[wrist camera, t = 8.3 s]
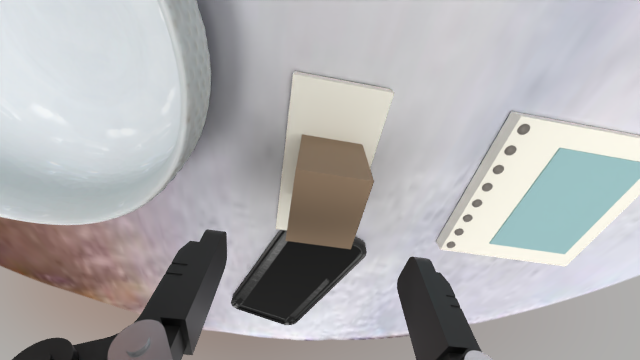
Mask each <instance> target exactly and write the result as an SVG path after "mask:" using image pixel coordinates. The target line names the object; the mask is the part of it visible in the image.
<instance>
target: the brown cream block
mask: <svg viewBox="0 0 640 360" xmlns="http://www.w3.org/2000/svg"><path fill="white" fill-rule="evenodd" d="M393 96H394V92H393V91H392V90H391V89H387V88H382V87H377V86H371V85H366V84H361V83H355V82H350V81H345V80H339V79H334V78H329V77H323V76H318V75H313V74H307V73H302V72H297V71H294V73H293V77H292V86H291V95H290V104H289V113H288V122H287V131H286V140H285V149H284V158H283V167H282V176H281V185H280V194H279V203H278V212H277V221H276V229H279V230H287V233H286V240H285V241H292V242H299V243H307V244H314V245H322V246H330V247H337V248H345V249H351V247H352V244H353V241H354V238H355V235H356V232H357V230H358V227H359V224H360V221H361V218H362V215H363V212H364V209H365V206H366V203H367V200H368V197H369V194H370V191H371V189H372V186H373V183H374V180H373V177H372V173H371V170H370V168H371V164H372V161H373V158H374V155H375V152H376V149H377V146H378V143H379V140H380V137H381V133H382V130H383V127H384V124H385V121H386V118H387V115H388V112H389V109H390V105H391V102H392V99H393Z"/></svg>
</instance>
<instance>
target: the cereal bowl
mask: <svg viewBox="0 0 640 360" xmlns="http://www.w3.org/2000/svg"><path fill="white" fill-rule="evenodd" d="M210 65H211V64H210V54H209V51H208V46H207V38H206V35H205V27H204V24H203V22H202V17H201V14H200V11H199V9H198V3H197V0H0V217H4V218H9V219H14V220H20V221H25V222H33V223H41V224H53V225H81V224H91V223H97V222H102V221H107V220H111V219H114V218H117V217H120V216H123V215H125V214H128V213H130V212H132V211H134V210H136V209H138V208H140V207H141V206H143V205H144V204H146V203H147V202H149V201H151V200H152V199H153V198H154V197H155V196H156V195H157V194H158V193H160V192H161V191H162V190H164V189H165V188H166V186H167V184H168V183H169V182H170V181H172V180H173V179H174V178H175V176H176V174H177V172H179V171H180V170H181V169H182V167H183V165H184V163H185V162H186V161H187V160H188V159H189V157H190V156H191V153H192V152H193V151H194V149H195V147H196V145H197V141H198V140H199V138H200V136H201V134H202V129H203V127H204V125H205V120H206V115H207V112H208V107H209V97H210V93H211V89H210V88H211V73H212V72H211V69H210Z"/></svg>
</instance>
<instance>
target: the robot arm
mask: <svg viewBox="0 0 640 360" xmlns="http://www.w3.org/2000/svg"><path fill="white" fill-rule="evenodd" d="M226 260H227V240H226V232H223V231H215V230H206V231H205V232H204V234H203V236H202V238H201V240H200V242H195V241H190V242H188V243H187V244H186V245H185V246H184V247H182V248H181V249H180V250H179V251H178V253H177V254H176V256H175V258H174V259H173V261H172V264H171V265H170V266H169V268H168V270H167V271H166V274H165V275H164V276H163V278H162V280H161V281H160V283H159V285H158V287H157V288H156V290H155V292H154V293H153V295H152V297H151V298H150V300H149V302H148V303H147V305H146V307H145V309H144V310H143V312H142V313H141V315H140V316H139V318H138V319H137V320H136V321H135V322H134V323H133V324H131V325H130V326H128V327H126V328H125V329H124V330H122V331H121V332H120V333H118V334H116V335H113V336H111V337H107V338H104V339H99V340H95V341H90V342H86V343H81V344H77V345H72V344H71V343H70V342H69V341H68V340H66V339H63V338H51V339H46V340H43V341H40V342H38V343H36V344H33V345H32V346H30V347H28V348H26V349H25V350H24V351H22V352H21V353H19V354H18V355H17V356H16V357H14V358H13V359H12V360H181V359H182V356H183V354H186V355H193V352H194V350H195V347H196V344H197V341H198V339H199V336H200V334H201V331H202V328H203V325H204V323H205V320H206V317H207V315H208V312H209V309H210V307H211V304H212V301H213V299H214V296H215V293H216V291H217V288H218V285H219V282H220V280H221V277H222V274H223V272H224V269H225V265H226ZM397 289H398V294H399V298H400V301H401V305H402V309H403V312H404V316H405V320H406V323H407V327H408V331H409V334H410V338H411V341H412V345H413V349H414V352H415V356H416V360H493V359H492V358H491V357H489V356H488V355H486V354H485V353H482V351H481V349H480V348H479V345H478V343H477V341H476V339H475V337H474V336H473V333H472V331H471V328H470V326H469V324H468V322H467V320H466V318H465V316H464V314H463V311H462V309H460V305H459V303H458V301H457V299H456V298H455V294H454V292H453V290H452V288H451V286H450V284H449V283H448V281H447V280H446V279H445V278H444V277H443V276H442V274H441V273H438V272H436V271H435V269H434V266H433V264H432V262H431V261H430V260H429V259H426V258H418V257H410V258H409V260H408V261H407V263H406V265H405V267H404V269H403V270H402V272H401V274H400V276H399V278H398V282H397Z"/></svg>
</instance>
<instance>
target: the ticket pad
mask: <svg viewBox="0 0 640 360" xmlns="http://www.w3.org/2000/svg"><path fill="white" fill-rule="evenodd" d="M639 195H640V135H635V134H630V133H625V132H619V131H614V130H609V129H603V128H598V127H593V126H587V125H582V124H577V123H571V122H566V121H561V120H555V119H550V118H545V117H540V116H534V115H529V114H524V113H518V112H513V111H511V113H510V114H509V116H508V118H507V120H506V121H505V123H504V125H503V127H502V128H501V130H500V132H499V133H498V135H497V137H496V139H495V140H494V142H493V144H492V146H491V147H490V149H489V151H488V152H487V154H486V156H485V158H484V159H483V161H482V163H481V165H480V166H479V168H478V170H477V171H476V173H475V175H474V177H473V178H472V180H471V182H470V183H469V185H468V187H467V189H466V190H465V192H464V194H463V196H462V197H461V199H460V201H459V202H458V204H457V206H456V208H455V209H454V211H453V213H452V215H451V216H450V218H449V220H448V221H447V223H446V225H445V227H444V228H443V230H442V232H441V233H440V235H439V237H438V239H437V240H436V242H437V244H438V246H439V248H440V250H447V251H455V252H462V253H469V254H477V255H484V256H492V257H499V258H506V259H514V260H521V261H528V262H536V263H543V264H551V265H558V266H565V267H566V266H567V265H568V264H569V263H570V262H571V261H572V260H573V259H574V258H575V257H576V256H577V255H578V254H579V253H580V252H581V251H582V250H583V249H584V248H585V247H586V246H587V245H588V244H589V243H591V242H592V241H593V240H594V239H595V238H596V237H597V236H598V235H599V234H600V233H601V232H602V231H603V230H604V229H605V228H606V227H607V226H608V225H609V224H610V223H611V222H612V221H613V220H614V219H615V218H616V217H617V216H618V215H619V214H620V213H621V212H622V211H624V210H625V209H626V208H627V207H628V206H629V205H630V204H631V203H632V202H633V201H634V200H635V199H636V198H637V197H638V196H639Z"/></svg>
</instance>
